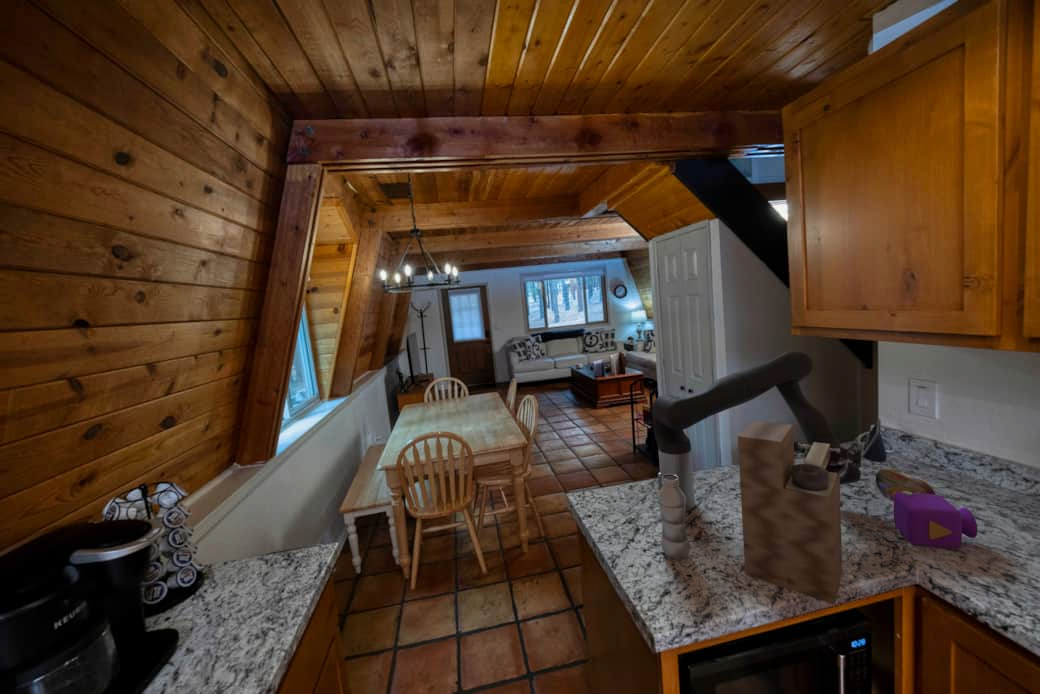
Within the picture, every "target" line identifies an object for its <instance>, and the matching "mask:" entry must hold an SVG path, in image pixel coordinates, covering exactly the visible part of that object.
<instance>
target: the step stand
mask: <svg viewBox="0 0 1040 694" xmlns="http://www.w3.org/2000/svg"><path fill="white" fill-rule="evenodd" d="M794 441H795V440H794V425H793V423H792V424H790V423H782V422H769V421H764V420H763V421H761V420H754V419H753V420H751V422H750V423H748V425H747V426H745V428H744V429H743V430H742V431H741V432H740V433H739V434H738V435H737V446H738V447H737V448H738V464H739V467H738V468H739V481H740V482H739V483H740V484H739V485H740V503H741V519H742V520H741V522H742V538H743V539H742V542H743V557H744V559H743V560H744V574H745V575H746V576H748V577H752V578H755V579H757V580H761V581H763V582H766V583H769V584H772V585H775V586H778V587H781V588H784V589H786V590H789V591H791V592H796V593H798V594H802V595H805V596H807V597H809V598H810V597H811V598H813V599H816V600H819V601H821V602H824V603H827V604H831V605H834V606H836V604H837V599H838V594H839V589H840V586H841V585H840V583H841V578H842V574H843V558H842V557H843V556H842V555H843V554H842V553H843V552H842V518H841V515H842V514H841V513H842V512H841V485H840V475H837V473H833V472H828V489H826V490H824V491H809V490H805V489H801V488H799V487H796V486H795V485H794V484H793V483H792V466H794V465H795V458H794Z"/></svg>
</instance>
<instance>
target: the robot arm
mask: <svg viewBox="0 0 1040 694" xmlns="http://www.w3.org/2000/svg"><path fill="white" fill-rule="evenodd" d="M813 369H814V362H813V359H812V358H811V357H810V356H809V355H808V354H807V353H804V352H802V351H800V350H798V351H797V350H791V351H786V352H783V353H782V354H780V355H778V356H777V357H775V358H773V359H770V360H769V361H766V362H764V363H761V364H758V365H756V366H751V367H748V368H746V369H743V370H740V371H736V372H734V373H731V374H729V375H725V376H723V377H720V378H718V379H716V380H715V381H714V382H712V384H710V386H709V387H707V389H706V390H705V391H703V392H702V393H699V394H696V395H694V396H689V397H685V398H681V397H677V396H675V395H672V394H662V395H660V396H658V397H656V399H655V400H654V402H653V403H652V408H651V409H652V410H651V416H652V417H651V418H652V425H653V433H654V434H653V435H654V438H655V441H656V443H657V447H658V459H659V472H658V473H657V484H658V492H659V491H660V490H661V488H662V487H663V484H662V481H663V480H662V476H663V475H665V474H674V475H676V476H678V480H679V486H678V487H679V488H680V489H681V491H682V492H683V493H684V495H685V498H686V507H685V511H689V510H692V509H693V508H695V506H696V503H695V502H696V501H695V500H696V499H695V488H694V487H695V485H694V472H693V471H694V470H693V457H692V453H693V452H692V442H691V440H690V438H689V437H688V436H687V434H686V433H685V431H684V430H686V429H688V428H690V427H692V426H694V425H696V424H698V423H700V422H701V421H703V420H705V419H708V418H709V417H711V416H714V415H716V414H719V413H722V412H724V411H727V410H729V409H732V408H735V407H738V406H740V405H743V404H746V403H747V402H750V401H751V400H755V399H756V398H758V397H760V396H761V395H763V394H765V393H766V392H768V391H769V390H772V388H774V387H776V389H777V391H778V392H779V394H780V395H781V397H782V399H783V400H784V401H785V403H786V404H787V405H788V408H789V409H790V411H791V412H792V414H793V416H794V417H795V419H796V421H797V423H798V425H799V427H800V429H801V432H802V434H803V436H804V439H805V441H806V444H805V443H803V444H801V443H800V442H799V441H796V440H794V459H795V458H797V457H798V456H799V457H800V458H801V459H802V460H805V459H806V457H807V455H808V453H809V451H810V449H811V447H812V445H813V443H814V442H817V443H825V444H830V458H829V461H828V464H827V466H826V470H827V471H828V472H833V473H837V475H840V486H842V485H846V484H853V483H857V482H858V481H860V480H861V476H862V473H861V470H860V468H862V452H860V451H854V452H852V451H851V450H850V449H846V448H845V447H843V446H841V444H840V442H839V441H838V439H837V437H836V436H835V434H834V431H833V428H832V426H831V424H830V423H829V421H828V419H827V418H826V416H825V415H824V414H823V413H822V412H821V410H819V409H818V408H816V407H815V406H814V405H813V404H812V403H811V401H809V400H808V399H807V397H805V395H804V393H803V391H802V389H801V387H800V382H802V381H803V380H804V379H806V378H807V377H808V376H810V374H811V373H812V371H813Z"/></svg>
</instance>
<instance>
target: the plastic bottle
mask: <svg viewBox="0 0 1040 694" xmlns="http://www.w3.org/2000/svg"><path fill="white" fill-rule="evenodd" d="M662 480H663V481H662V484H663V487H662V488H661V490H660V491H659V490H658V493H657V502H658V506H659V510H660V517H661V521H662V522H661V523H662V525H661V531H662V532H661V533H662V534H661V538H660V540H661V542H660V545H661V549H662V552H663V553H664V554H665V555H666V556H667V557H669V558H670V559H673V560H676V561H677V560H679V561H680V560H684V559H685V560H686V558H687V557H688V556H689V555H690V548H691V546H690V542H689V538H688V534H687V533H688V532H687V527H686V510H685V507H686V498H685V495H684V493H683V492H682V491H681V489H680V488H679V487H678V486H679V480H678V476H676V475H674V474H665V475H663V476H662Z"/></svg>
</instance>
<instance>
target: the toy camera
mask: <svg viewBox="0 0 1040 694" xmlns="http://www.w3.org/2000/svg"><path fill="white" fill-rule="evenodd" d="M935 494H936V493H935ZM935 494H922V493H912V492H909V491H903V492H898V493H895V494H894V501H893V522H894V525H895V527H896V528H897V529H898V531H900V533H901V534H902V535H903V537H904V538H905V539H906V540H907V541H908V542H909V543H911V544H912V545H915V546H923V547H931V548H941V549H942V548H943V549H953V550H956V549H960V548H961V547H962V542H963V538H962V537H963V535H965V536H966V537H968V538H971V539H974V538H976V537H977V535H978V533H979V531H978V524H977V523H978V522H977V521H976V518H975V515H974V514H973V513H972V511H971V510H970V509H969V508H968V507H962V508H959V509H957V508H956V507H955V506H954V505H953V504H952V503H950V502H949V501H948V500H947V499H945V498H944V497H942V496H941V495H938V494H936V495H935Z"/></svg>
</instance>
